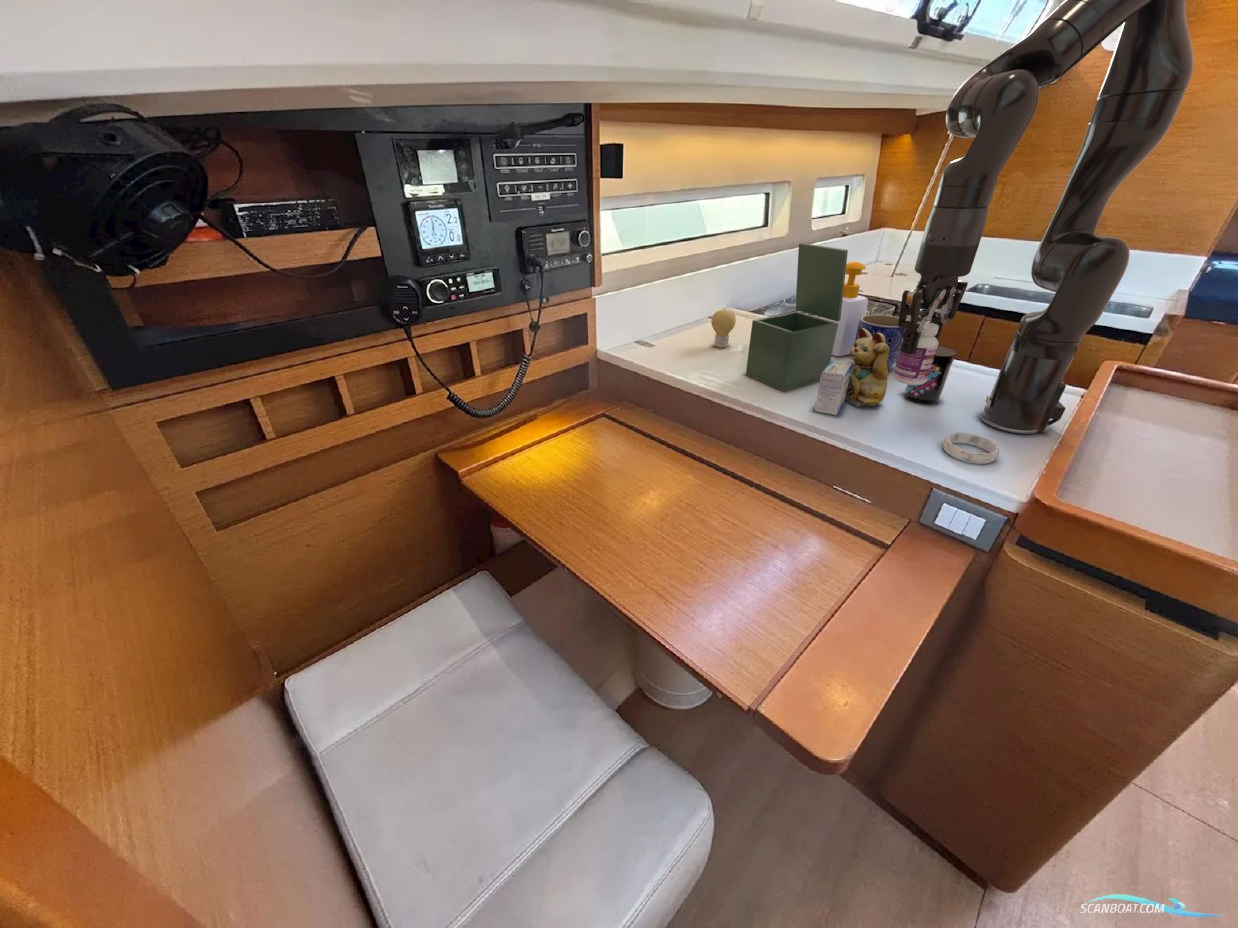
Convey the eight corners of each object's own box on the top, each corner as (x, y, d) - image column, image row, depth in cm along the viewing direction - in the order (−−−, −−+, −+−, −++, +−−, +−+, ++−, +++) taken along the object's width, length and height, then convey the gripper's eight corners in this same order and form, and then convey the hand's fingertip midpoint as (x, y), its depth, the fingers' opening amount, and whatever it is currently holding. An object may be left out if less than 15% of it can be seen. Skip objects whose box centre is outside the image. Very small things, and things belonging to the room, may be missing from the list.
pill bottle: (923, 388, 83) (941, 331, 78) (888, 381, 86) (903, 326, 81) (929, 378, 87) (946, 323, 82) (895, 372, 90) (910, 318, 85)
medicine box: (836, 416, 99) (846, 375, 94) (813, 411, 101) (821, 371, 96) (844, 402, 105) (854, 362, 100) (822, 397, 107) (830, 359, 102)
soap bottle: (820, 338, 142) (837, 255, 130) (862, 352, 131) (885, 262, 120) (796, 344, 137) (812, 258, 126) (838, 358, 127) (859, 266, 116)
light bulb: (737, 346, 137) (741, 309, 132) (724, 351, 133) (728, 314, 128) (717, 341, 140) (721, 305, 135) (704, 346, 137) (707, 309, 131)
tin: (783, 391, 110) (793, 333, 103) (745, 374, 118) (752, 320, 112) (826, 379, 116) (838, 323, 109) (787, 363, 125) (796, 311, 118)
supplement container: (898, 391, 109) (912, 345, 104) (930, 392, 109) (946, 345, 103) (911, 404, 103) (926, 356, 98) (945, 405, 103) (962, 356, 97)
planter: (907, 370, 120) (922, 324, 114) (871, 376, 117) (884, 329, 111) (873, 356, 129) (885, 312, 123) (839, 361, 125) (849, 317, 120)
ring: (971, 439, 90) (975, 430, 89) (1008, 462, 83) (1012, 452, 82) (931, 443, 89) (934, 433, 88) (964, 466, 82) (969, 456, 81)
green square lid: (845, 251, 100) (848, 249, 100) (798, 244, 109) (801, 243, 109) (837, 321, 109) (840, 320, 109) (795, 309, 117) (797, 308, 118)
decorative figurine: (830, 395, 108) (845, 326, 100) (859, 389, 110) (877, 321, 103) (863, 412, 100) (883, 339, 92) (894, 406, 103) (916, 334, 95)
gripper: (948, 248, 69) (913, 364, 78) (1002, 238, 75) (964, 347, 84) (898, 242, 74) (871, 351, 83) (952, 233, 81) (921, 336, 89)
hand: (918, 349), depth 84 cm, fingers closed on pill bottle, 5 cm apart
